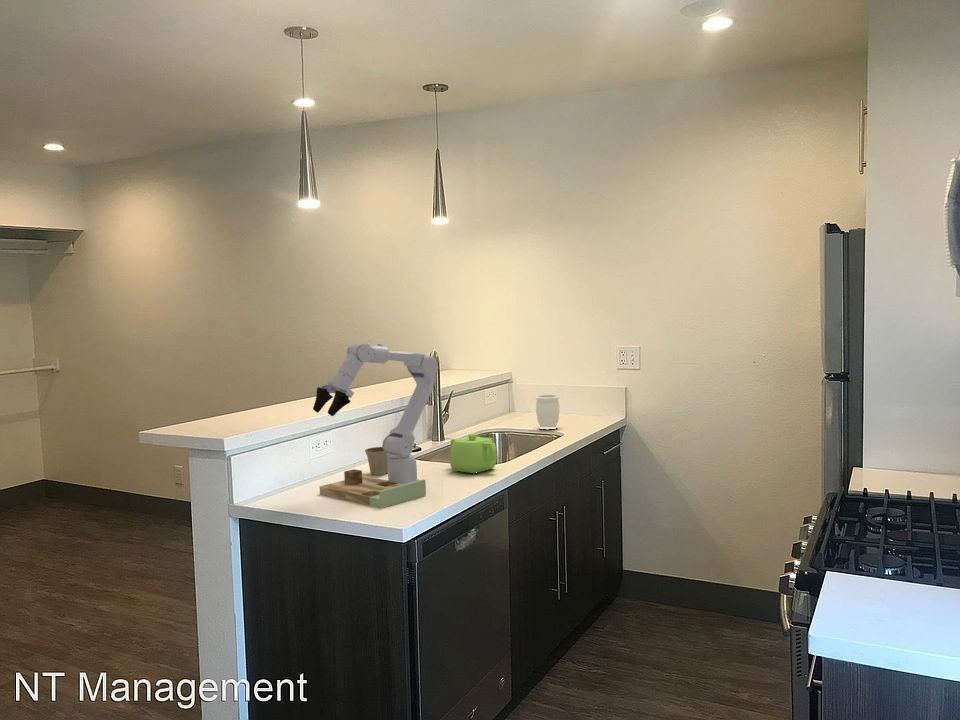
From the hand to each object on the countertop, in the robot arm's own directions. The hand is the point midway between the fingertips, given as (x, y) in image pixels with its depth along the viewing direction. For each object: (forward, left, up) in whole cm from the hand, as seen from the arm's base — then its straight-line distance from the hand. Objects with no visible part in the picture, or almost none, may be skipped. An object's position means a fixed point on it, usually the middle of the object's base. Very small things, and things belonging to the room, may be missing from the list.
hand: (322, 412), depth 250 cm
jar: (-138, -19, -27) cm, 142 cm away
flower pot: (-33, -14, -27) cm, 45 cm away
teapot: (-57, +11, -27) cm, 65 cm away
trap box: (-11, +8, -27) cm, 30 cm away
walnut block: (-11, -1, -24) cm, 27 cm away
